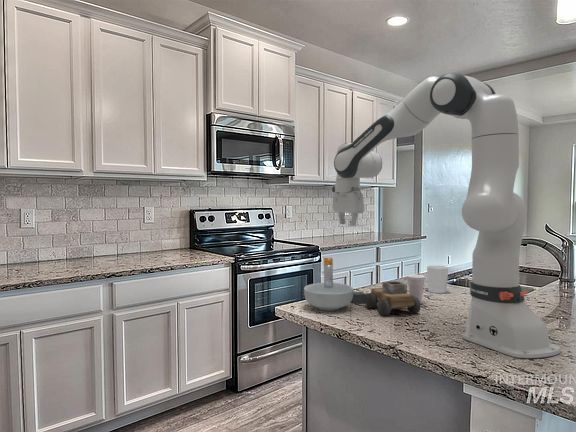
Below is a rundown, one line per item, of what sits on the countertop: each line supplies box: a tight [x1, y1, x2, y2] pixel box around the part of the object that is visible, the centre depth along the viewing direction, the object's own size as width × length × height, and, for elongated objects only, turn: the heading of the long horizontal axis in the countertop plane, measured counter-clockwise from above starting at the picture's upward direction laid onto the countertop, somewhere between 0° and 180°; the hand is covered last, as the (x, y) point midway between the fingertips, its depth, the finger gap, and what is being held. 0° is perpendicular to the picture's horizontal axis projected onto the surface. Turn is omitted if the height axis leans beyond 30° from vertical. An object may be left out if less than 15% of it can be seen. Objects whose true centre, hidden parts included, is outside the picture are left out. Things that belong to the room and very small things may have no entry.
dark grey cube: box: [350, 291, 367, 305], centre depth 144 cm, size 4×4×4 cm
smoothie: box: [406, 263, 426, 305], centre depth 143 cm, size 6×6×14 cm
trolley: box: [365, 280, 422, 316], centre depth 134 cm, size 14×13×9 cm
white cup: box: [426, 264, 449, 294], centre depth 160 cm, size 8×8×10 cm
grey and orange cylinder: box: [323, 257, 334, 288], centre depth 137 cm, size 3×3×10 cm
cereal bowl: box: [303, 282, 354, 312], centre depth 137 cm, size 17×17×7 cm
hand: (347, 225), depth 149 cm, fingers open, 8 cm apart
